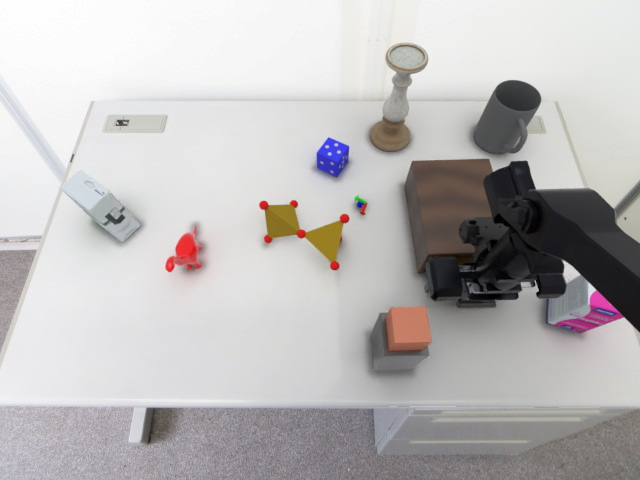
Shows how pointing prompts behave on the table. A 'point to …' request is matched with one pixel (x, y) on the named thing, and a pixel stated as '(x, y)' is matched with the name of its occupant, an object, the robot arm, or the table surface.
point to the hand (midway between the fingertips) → (473, 296)
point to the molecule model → (324, 238)
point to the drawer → (465, 303)
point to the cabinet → (444, 204)
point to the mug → (507, 117)
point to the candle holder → (398, 96)
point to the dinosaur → (185, 253)
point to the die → (332, 157)
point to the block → (408, 328)
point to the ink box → (100, 205)
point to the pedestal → (392, 359)
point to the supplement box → (580, 308)
